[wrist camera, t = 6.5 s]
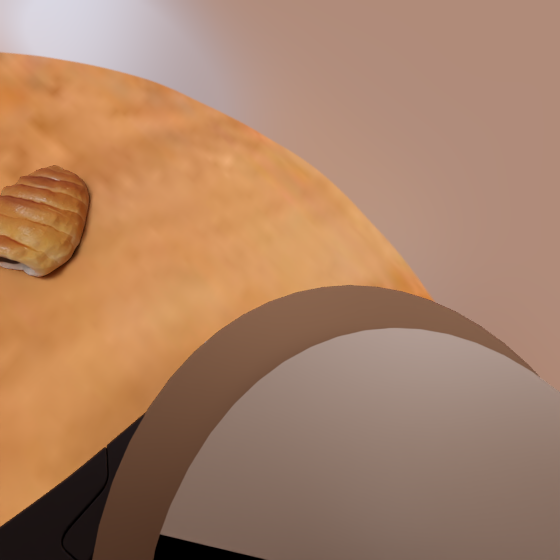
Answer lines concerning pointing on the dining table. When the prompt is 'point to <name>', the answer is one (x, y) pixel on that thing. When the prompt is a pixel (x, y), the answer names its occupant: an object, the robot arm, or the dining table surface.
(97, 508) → the robot arm
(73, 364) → the dining table surface
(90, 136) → the dining table surface
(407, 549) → the pepper mill
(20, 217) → the pastry
